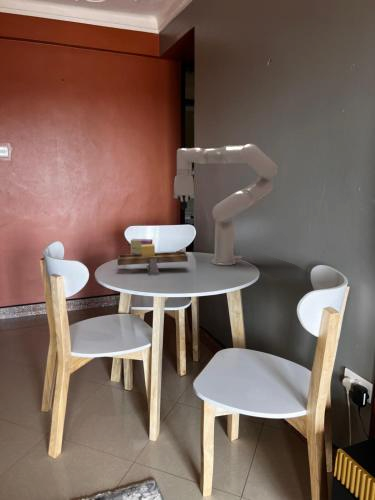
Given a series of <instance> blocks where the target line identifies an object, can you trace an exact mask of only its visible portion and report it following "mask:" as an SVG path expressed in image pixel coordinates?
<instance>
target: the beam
mask: <svg viewBox="0 0 375 500" xmlns="http://www.w3.org/2000/svg"><path fill="white" fill-rule="evenodd" d="M150 258H156V259H157V264H166V263H167V264H169V263H182V262H185V263H186V262H189V259H188V258H189V257H188V254H187V253H186V251H168V252H166V251H165V252H155V256H154V257H143V258H142V254H131V253H129V254H128V253H127V254H125V253H124V254H118V257H117V266H126V265H127V266H128V265H129V266H130V265H146V264H147V265H149V264H150Z"/></svg>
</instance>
